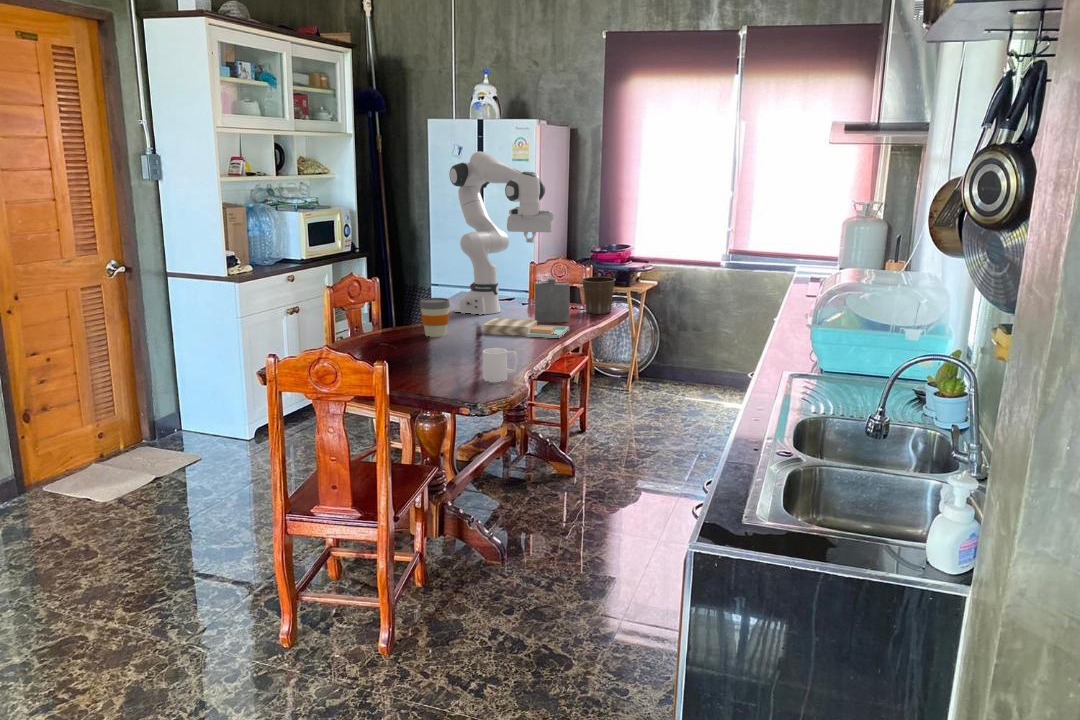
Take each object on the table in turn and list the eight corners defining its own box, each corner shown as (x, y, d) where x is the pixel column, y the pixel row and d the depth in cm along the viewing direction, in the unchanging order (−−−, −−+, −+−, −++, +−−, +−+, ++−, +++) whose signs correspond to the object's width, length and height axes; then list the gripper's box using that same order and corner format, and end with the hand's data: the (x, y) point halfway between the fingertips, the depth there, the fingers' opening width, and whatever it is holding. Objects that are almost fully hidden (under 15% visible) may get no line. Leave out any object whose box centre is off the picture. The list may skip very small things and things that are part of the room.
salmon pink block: (530, 333, 348) (530, 328, 348) (534, 330, 354) (534, 326, 354) (551, 334, 346) (551, 330, 346) (554, 331, 352) (554, 327, 351)
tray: (526, 337, 343) (526, 333, 343) (538, 328, 360) (538, 324, 360) (559, 339, 340) (559, 335, 339) (569, 330, 356) (569, 326, 356)
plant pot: (586, 316, 386) (587, 282, 382) (577, 309, 401) (577, 277, 397) (619, 314, 390) (620, 280, 386) (608, 308, 405) (609, 276, 401)
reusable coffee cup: (433, 330, 357) (431, 296, 353) (456, 333, 351) (455, 299, 347) (415, 336, 346) (413, 301, 343) (439, 339, 340) (437, 303, 337)
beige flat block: (483, 333, 350) (483, 324, 349) (493, 327, 363) (493, 318, 362) (528, 336, 345) (528, 327, 344) (537, 329, 358) (537, 320, 357)
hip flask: (569, 321, 375) (570, 277, 370) (568, 323, 371) (568, 279, 366) (535, 320, 378) (535, 277, 373) (534, 322, 374) (533, 278, 369)
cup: (516, 382, 277) (516, 354, 274) (481, 382, 278) (480, 353, 275) (519, 376, 284) (519, 348, 282) (485, 375, 286) (484, 347, 283)
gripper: (554, 210, 353) (554, 242, 357) (509, 209, 359) (510, 241, 362) (551, 211, 348) (551, 243, 351) (505, 210, 353) (505, 242, 356)
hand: (530, 242), depth 357 cm, fingers closed
